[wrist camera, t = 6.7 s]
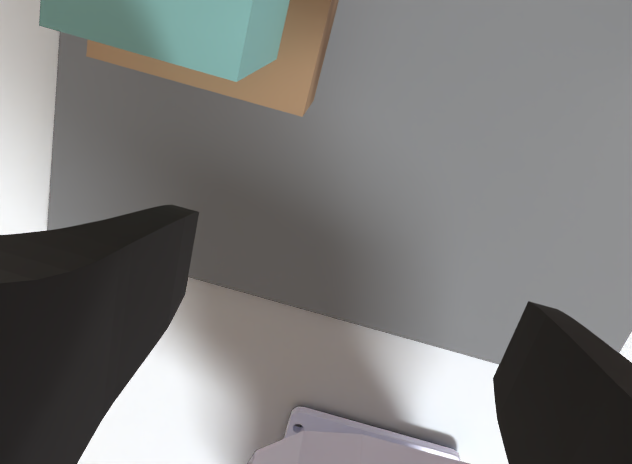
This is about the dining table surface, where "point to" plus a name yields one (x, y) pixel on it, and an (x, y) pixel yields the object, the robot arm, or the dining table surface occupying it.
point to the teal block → (179, 30)
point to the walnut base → (269, 81)
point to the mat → (389, 169)
